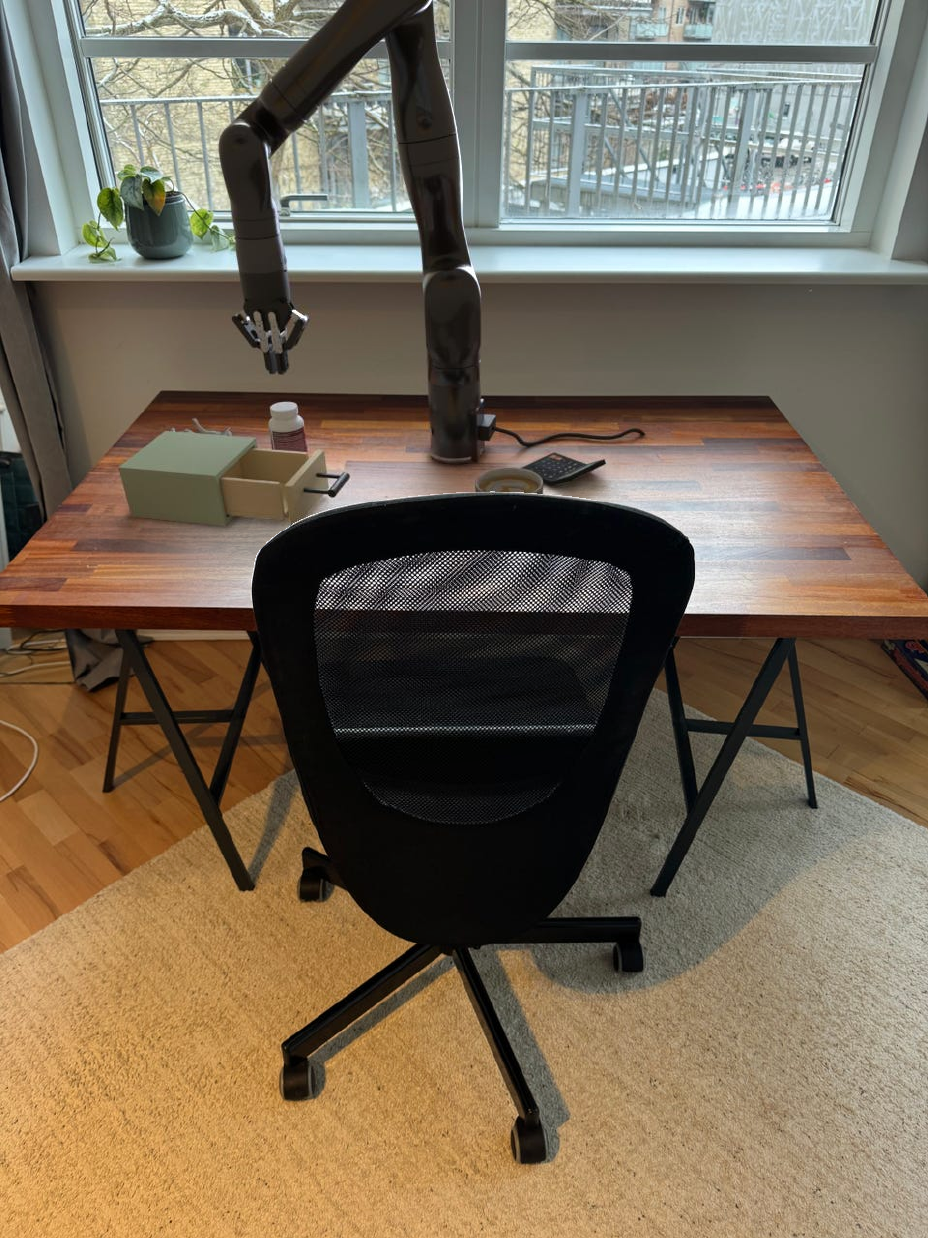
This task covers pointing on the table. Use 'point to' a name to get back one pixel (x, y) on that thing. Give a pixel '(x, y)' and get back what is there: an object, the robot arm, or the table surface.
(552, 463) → the calculator
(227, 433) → the soldier figure
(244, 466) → the drawer
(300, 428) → the pill bottle
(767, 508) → the table surface
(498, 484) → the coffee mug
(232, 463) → the cabinet
